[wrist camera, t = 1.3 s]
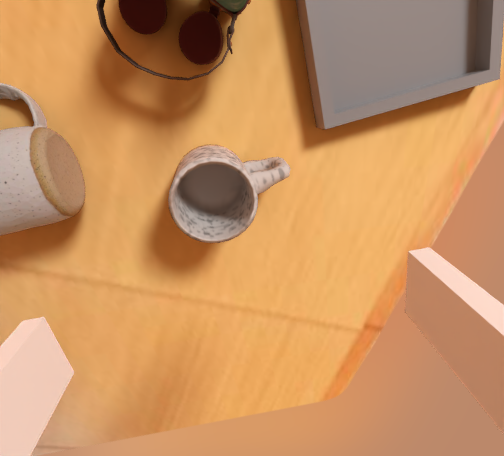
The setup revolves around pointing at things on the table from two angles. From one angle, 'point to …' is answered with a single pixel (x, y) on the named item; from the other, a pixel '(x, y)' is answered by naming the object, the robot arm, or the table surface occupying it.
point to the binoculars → (191, 32)
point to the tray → (395, 52)
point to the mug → (220, 192)
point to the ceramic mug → (36, 173)
